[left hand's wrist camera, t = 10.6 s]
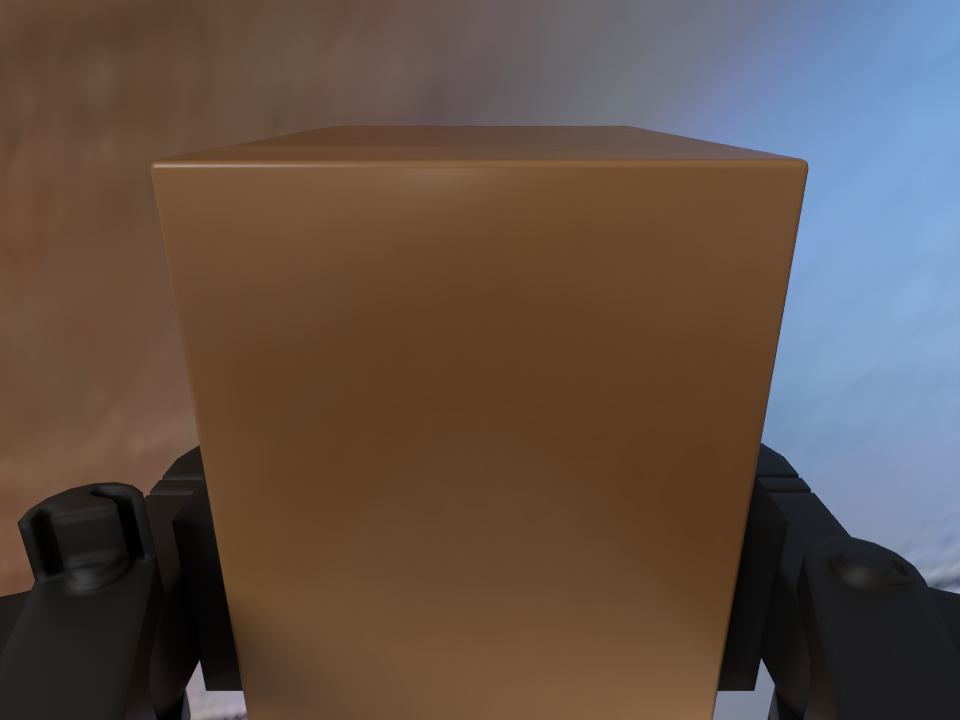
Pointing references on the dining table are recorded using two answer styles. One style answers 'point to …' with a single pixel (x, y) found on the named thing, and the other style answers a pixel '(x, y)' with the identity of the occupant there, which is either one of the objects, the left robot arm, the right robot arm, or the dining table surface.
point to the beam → (479, 410)
